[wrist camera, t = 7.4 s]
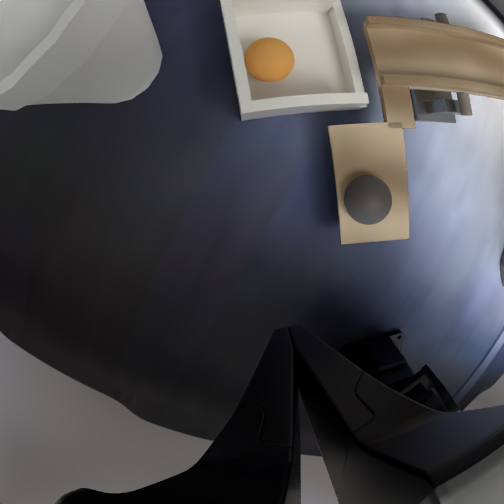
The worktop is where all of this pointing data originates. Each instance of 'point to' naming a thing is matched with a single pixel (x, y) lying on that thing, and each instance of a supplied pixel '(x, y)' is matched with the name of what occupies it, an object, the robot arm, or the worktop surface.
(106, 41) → the foam cup
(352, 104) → the dish
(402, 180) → the lever
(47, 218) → the worktop surface
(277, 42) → the ball
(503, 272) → the coffeepot
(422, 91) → the fulcrum
